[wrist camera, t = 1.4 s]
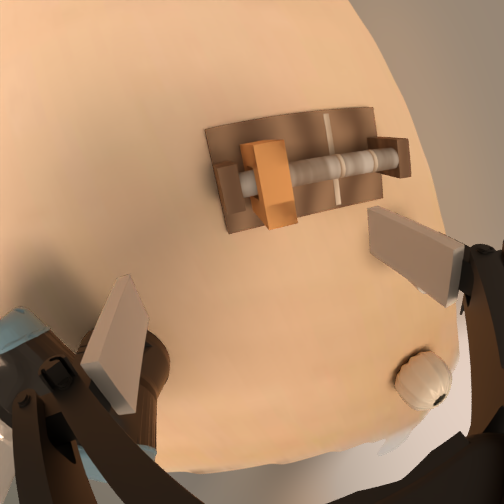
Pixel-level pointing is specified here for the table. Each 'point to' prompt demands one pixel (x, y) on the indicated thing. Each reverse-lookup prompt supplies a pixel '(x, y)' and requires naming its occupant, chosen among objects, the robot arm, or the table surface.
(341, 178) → the pipe stand
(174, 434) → the table surface
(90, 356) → the robot arm
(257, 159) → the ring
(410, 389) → the vase
